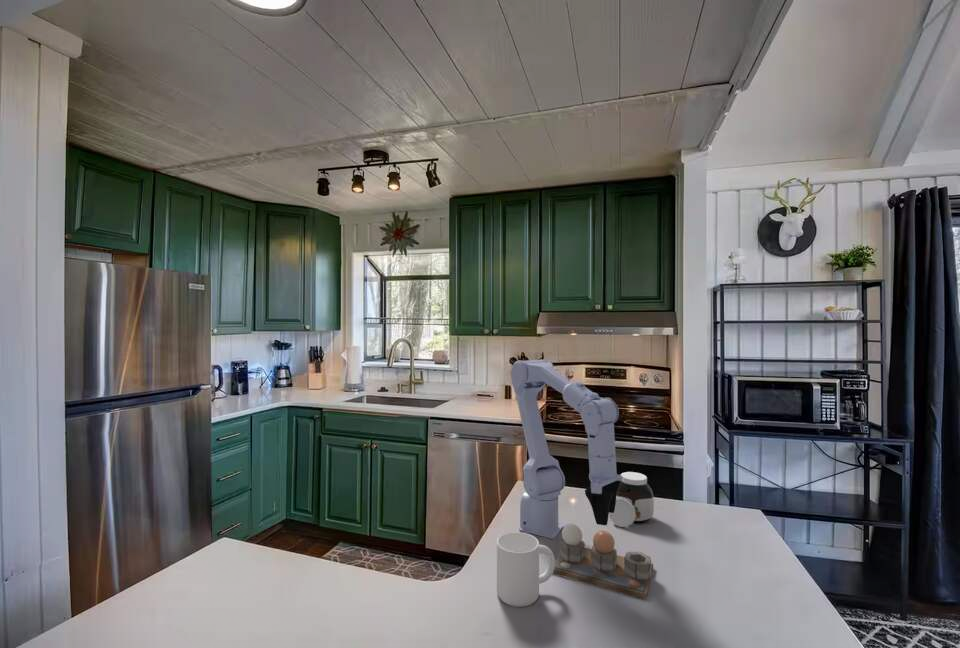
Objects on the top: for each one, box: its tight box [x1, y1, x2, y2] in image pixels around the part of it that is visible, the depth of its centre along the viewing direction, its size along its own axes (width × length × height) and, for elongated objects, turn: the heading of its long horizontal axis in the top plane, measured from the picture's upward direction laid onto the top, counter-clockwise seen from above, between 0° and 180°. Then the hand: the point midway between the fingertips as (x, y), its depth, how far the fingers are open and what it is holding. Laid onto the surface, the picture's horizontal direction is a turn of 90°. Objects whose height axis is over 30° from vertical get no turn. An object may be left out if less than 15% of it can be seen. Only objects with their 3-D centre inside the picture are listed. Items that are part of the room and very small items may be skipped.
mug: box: [496, 531, 556, 608], centre depth 84 cm, size 12×8×10 cm
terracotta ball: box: [592, 530, 616, 554], centre depth 93 cm, size 4×4×4 cm
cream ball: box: [561, 523, 583, 546], centre depth 96 cm, size 4×4×4 cm
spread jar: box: [608, 471, 655, 528], centre depth 116 cm, size 12×11×12 cm
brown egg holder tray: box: [552, 538, 654, 600], centre depth 92 cm, size 19×12×4 cm, turn 62°
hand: (605, 517), depth 93 cm, fingers open, 7 cm apart
